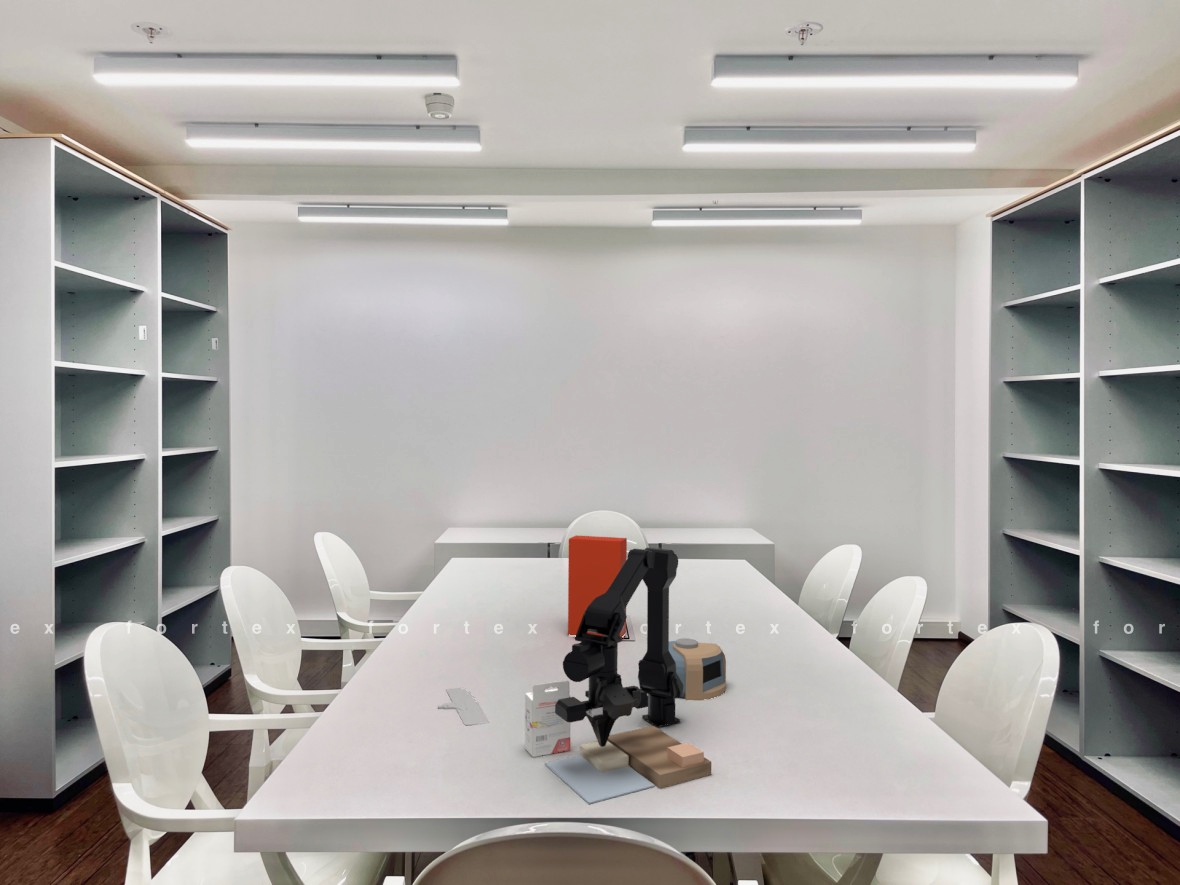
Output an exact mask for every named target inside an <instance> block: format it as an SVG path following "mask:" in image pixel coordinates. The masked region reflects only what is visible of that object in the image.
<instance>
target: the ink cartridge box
mask: <svg viewBox="0 0 1180 885" xmlns="http://www.w3.org/2000/svg"><path fill="white" fill-rule="evenodd" d="M550 688H553V689H550ZM569 697H571V695H570V681H569V680H568V679H567V680H561V681H559V680H557V681H551V682H550V681H549V682H544V683H537V684H532V692H525V693H524V749H525V750H526V751H527V753H529V755H530V756H531V757H532V758H535V757H536V758H537V757H541V756H542V755H543V756H547V755H552V754H553V753H554V754H559V753H564V752H563V751H565V752H569V751H571V722H566V721H565V720H564V719H562V718H561V717H560V716H558V715H557V714H556V713H555V705H556V703H557V701H558V700H559V699H564V698H569ZM568 750H569V751H568ZM558 752H559V753H558ZM554 754H553V755H554Z"/></svg>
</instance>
